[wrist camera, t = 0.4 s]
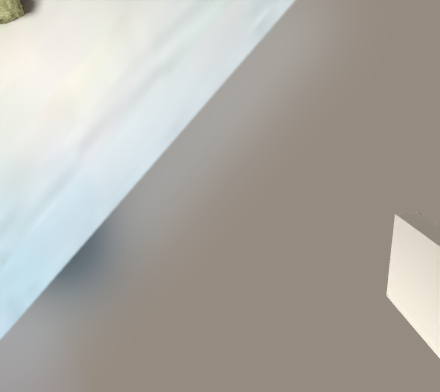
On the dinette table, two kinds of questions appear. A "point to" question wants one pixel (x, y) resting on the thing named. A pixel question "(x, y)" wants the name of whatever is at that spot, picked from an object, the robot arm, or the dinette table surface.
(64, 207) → the dinette table surface
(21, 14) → the washcloth
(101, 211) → the dinette table surface
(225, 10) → the dinette table surface
